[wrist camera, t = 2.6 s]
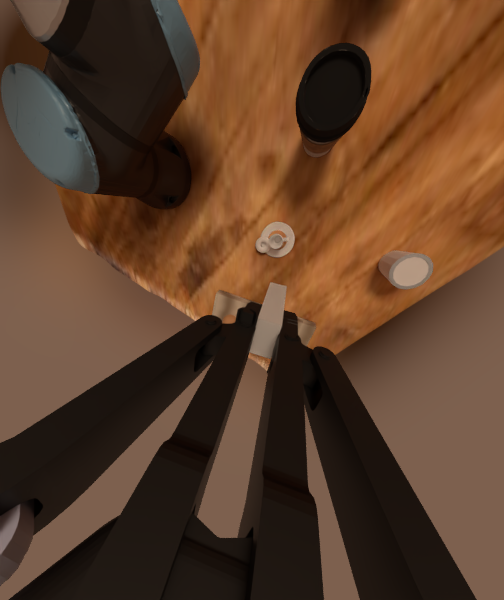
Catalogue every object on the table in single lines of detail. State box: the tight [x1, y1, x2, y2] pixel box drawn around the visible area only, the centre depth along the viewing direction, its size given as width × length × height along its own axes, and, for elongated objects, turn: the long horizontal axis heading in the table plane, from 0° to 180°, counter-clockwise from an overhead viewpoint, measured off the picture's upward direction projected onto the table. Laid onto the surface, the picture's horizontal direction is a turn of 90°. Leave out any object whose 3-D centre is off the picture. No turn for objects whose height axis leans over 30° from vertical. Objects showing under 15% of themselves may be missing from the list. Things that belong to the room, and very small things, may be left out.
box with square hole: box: [212, 290, 316, 346], centre depth 52 cm, size 28×12×2 cm, turn 75°
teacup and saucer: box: [255, 222, 295, 257], centre depth 42 cm, size 9×8×4 cm
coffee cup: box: [296, 43, 371, 157], centre depth 28 cm, size 8×8×15 cm
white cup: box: [378, 250, 433, 289], centre depth 37 cm, size 7×7×7 cm
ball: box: [223, 315, 236, 324], centre depth 50 cm, size 4×4×4 cm
